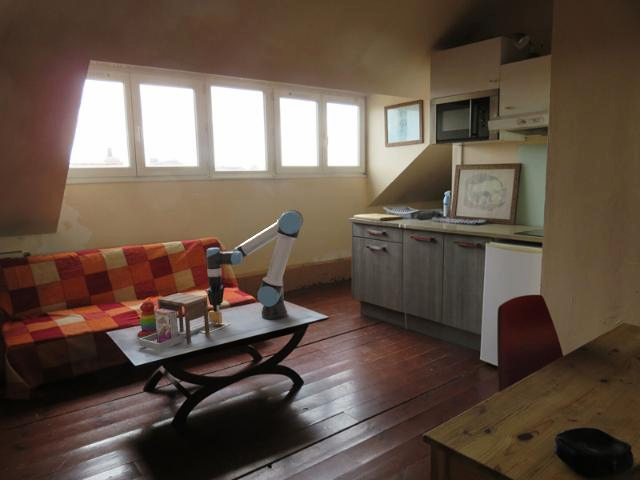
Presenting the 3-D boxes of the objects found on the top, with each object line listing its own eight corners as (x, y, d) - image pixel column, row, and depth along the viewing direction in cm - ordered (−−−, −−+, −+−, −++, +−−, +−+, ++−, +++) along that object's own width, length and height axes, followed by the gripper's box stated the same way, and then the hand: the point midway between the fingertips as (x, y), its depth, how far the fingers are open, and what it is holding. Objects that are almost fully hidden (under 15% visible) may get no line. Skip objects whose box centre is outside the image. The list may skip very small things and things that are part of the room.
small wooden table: (209, 335, 236) (207, 297, 233) (188, 343, 224) (185, 303, 221) (181, 329, 247) (179, 292, 244) (160, 337, 235) (157, 298, 232)
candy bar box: (156, 341, 228) (154, 310, 226) (164, 338, 232) (162, 307, 230) (171, 345, 222) (168, 313, 220) (179, 342, 226) (177, 310, 224)
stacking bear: (144, 329, 248) (141, 298, 246) (162, 329, 248) (160, 297, 246) (136, 336, 238) (133, 303, 235) (155, 336, 237) (152, 303, 235)
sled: (226, 323, 251) (226, 313, 250) (159, 350, 213) (158, 338, 212) (207, 320, 258) (206, 309, 258) (139, 345, 221) (138, 333, 220)
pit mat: (229, 324, 252) (229, 323, 252) (207, 333, 238) (207, 333, 238) (209, 320, 261) (209, 320, 260) (186, 329, 246) (186, 328, 246)
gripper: (218, 272, 259) (220, 312, 262) (201, 277, 248) (203, 318, 251) (227, 273, 255) (230, 314, 258) (210, 278, 244) (213, 320, 247)
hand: (217, 316), depth 255 cm, fingers closed
